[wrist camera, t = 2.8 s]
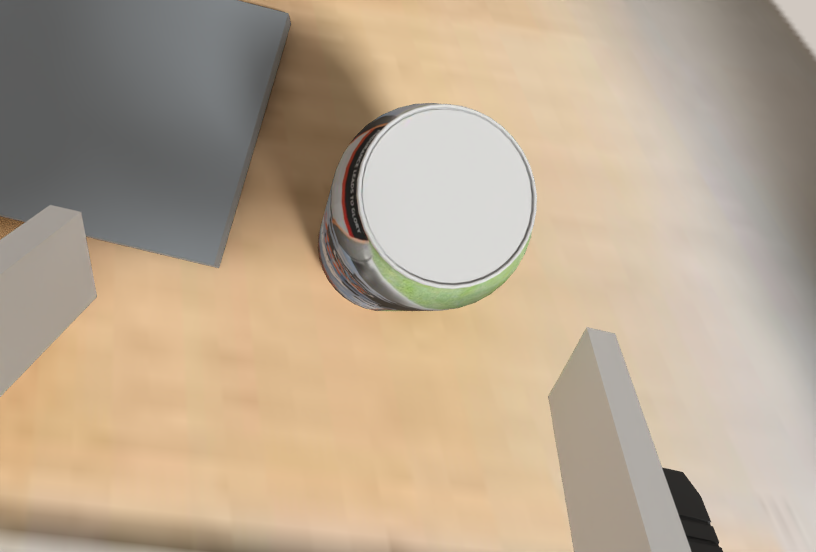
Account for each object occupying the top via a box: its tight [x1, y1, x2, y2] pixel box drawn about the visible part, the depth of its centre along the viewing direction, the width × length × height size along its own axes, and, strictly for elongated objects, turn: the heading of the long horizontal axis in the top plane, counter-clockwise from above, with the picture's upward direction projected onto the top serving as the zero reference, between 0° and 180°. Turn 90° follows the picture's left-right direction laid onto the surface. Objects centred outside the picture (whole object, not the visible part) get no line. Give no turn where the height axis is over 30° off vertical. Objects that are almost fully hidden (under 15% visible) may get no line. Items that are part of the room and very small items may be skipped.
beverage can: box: [318, 103, 537, 311], centre depth 19 cm, size 6×7×12 cm
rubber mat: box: [0, 0, 291, 268], centre depth 25 cm, size 16×13×1 cm
